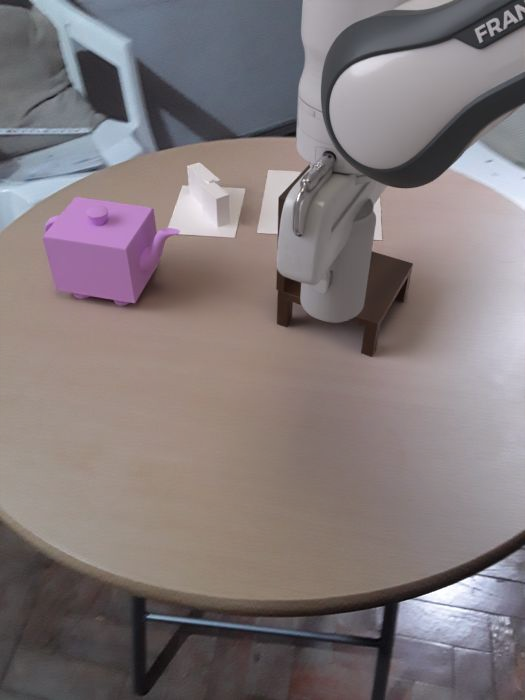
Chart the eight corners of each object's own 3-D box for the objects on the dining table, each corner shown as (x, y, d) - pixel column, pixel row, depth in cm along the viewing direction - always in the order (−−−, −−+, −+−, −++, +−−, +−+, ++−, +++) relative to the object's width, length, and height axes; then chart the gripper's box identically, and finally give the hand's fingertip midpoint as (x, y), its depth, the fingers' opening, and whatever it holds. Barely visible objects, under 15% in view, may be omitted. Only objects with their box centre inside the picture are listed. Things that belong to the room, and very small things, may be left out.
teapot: (42, 295, 98) (21, 222, 89) (73, 254, 105) (56, 182, 96) (174, 318, 94) (165, 244, 86) (196, 274, 101) (190, 201, 93)
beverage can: (337, 337, 65) (349, 232, 57) (286, 307, 68) (291, 204, 60) (375, 304, 69) (392, 202, 60) (325, 278, 72) (335, 176, 63)
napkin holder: (181, 185, 120) (178, 155, 116) (245, 188, 119) (245, 158, 115) (165, 234, 109) (162, 203, 105) (236, 237, 108) (235, 206, 104)
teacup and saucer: (335, 185, 119) (337, 164, 117) (334, 210, 114) (336, 189, 111) (285, 183, 120) (286, 162, 117) (282, 207, 114) (282, 186, 112)
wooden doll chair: (406, 296, 98) (431, 172, 84) (372, 357, 89) (393, 229, 75) (316, 268, 103) (326, 146, 89) (275, 323, 94) (278, 197, 80)
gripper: (338, 200, 47) (323, 342, 57) (425, 89, 60) (401, 220, 70) (257, 178, 49) (257, 319, 59) (359, 75, 62) (344, 204, 72)
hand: (336, 264), depth 65 cm, fingers closed on beverage can, 6 cm apart
